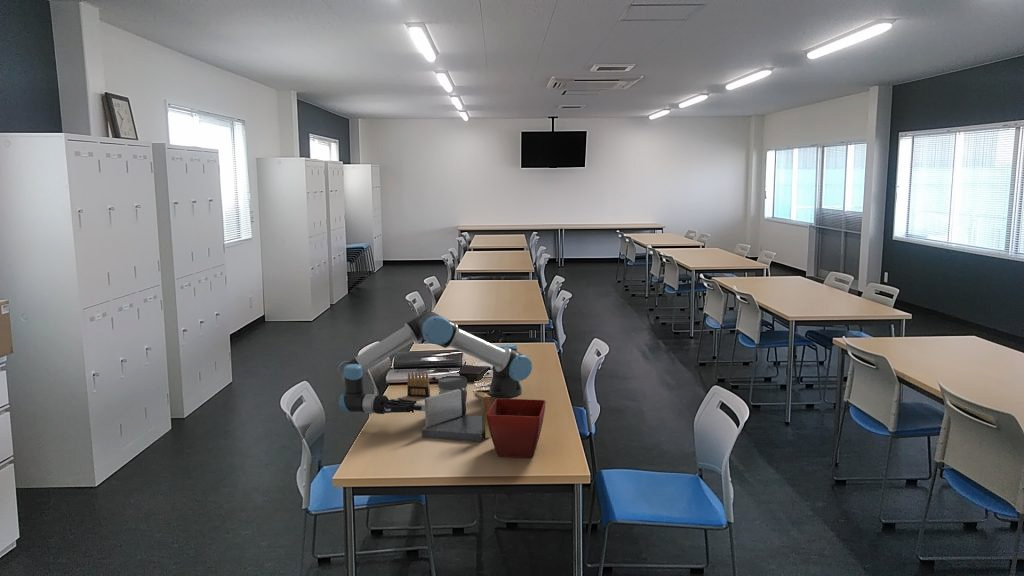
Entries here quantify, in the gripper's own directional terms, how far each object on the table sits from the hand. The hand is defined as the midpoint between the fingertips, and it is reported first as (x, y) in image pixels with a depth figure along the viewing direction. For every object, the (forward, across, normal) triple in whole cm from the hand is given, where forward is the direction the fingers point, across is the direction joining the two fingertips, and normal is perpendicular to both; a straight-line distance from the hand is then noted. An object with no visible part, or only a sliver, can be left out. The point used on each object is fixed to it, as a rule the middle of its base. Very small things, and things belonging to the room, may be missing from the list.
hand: (430, 407), depth 277 cm
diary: (-15, -78, -10) cm, 80 cm away
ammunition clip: (-23, -42, -10) cm, 49 cm away
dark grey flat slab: (+11, -2, -9) cm, 15 cm away
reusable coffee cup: (+1, -22, -10) cm, 24 cm away
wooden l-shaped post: (+22, +1, -9) cm, 24 cm away
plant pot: (+40, +14, -10) cm, 43 cm away
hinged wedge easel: (+5, -4, -6) cm, 9 cm away
